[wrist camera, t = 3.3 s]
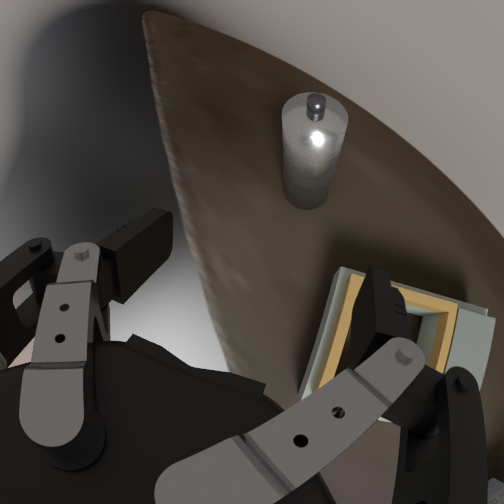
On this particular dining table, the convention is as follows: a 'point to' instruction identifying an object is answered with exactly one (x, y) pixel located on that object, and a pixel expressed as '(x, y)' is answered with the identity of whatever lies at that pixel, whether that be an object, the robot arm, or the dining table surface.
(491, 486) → the medicine box
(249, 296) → the dining table surface
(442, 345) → the bottle holder tray
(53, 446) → the robot arm
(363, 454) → the dining table surface
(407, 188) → the dining table surface
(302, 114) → the grey tall cylinder
